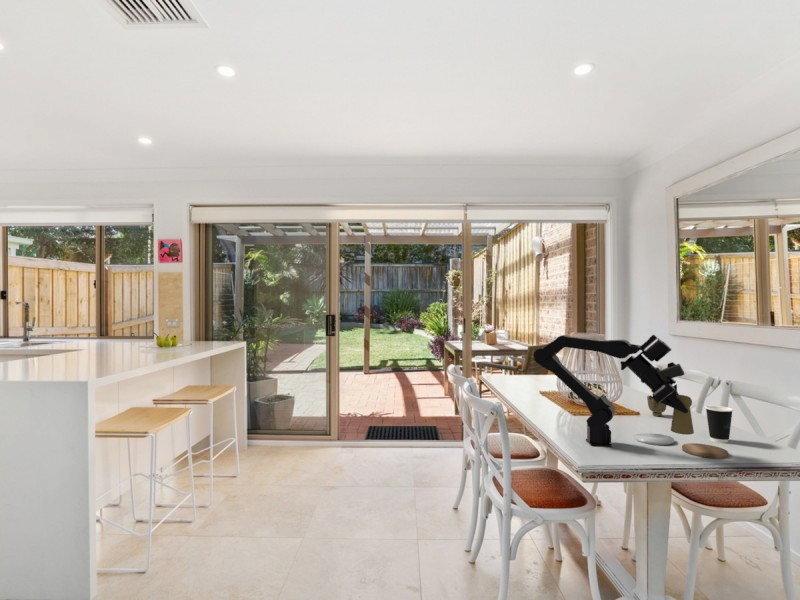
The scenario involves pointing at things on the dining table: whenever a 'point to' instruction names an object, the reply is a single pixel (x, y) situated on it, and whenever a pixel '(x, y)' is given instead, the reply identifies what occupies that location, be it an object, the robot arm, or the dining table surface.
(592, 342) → the robot arm
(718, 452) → the walnut trivet
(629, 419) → the dining table surface
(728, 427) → the dixie cup
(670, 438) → the grey round disc
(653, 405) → the cup
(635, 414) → the dining table surface
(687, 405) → the olive chess pawn
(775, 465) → the dining table surface
